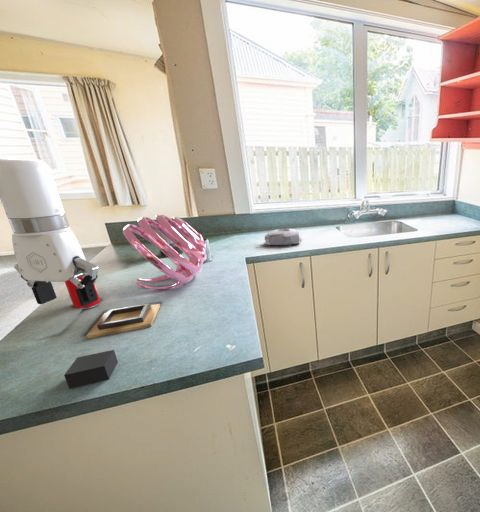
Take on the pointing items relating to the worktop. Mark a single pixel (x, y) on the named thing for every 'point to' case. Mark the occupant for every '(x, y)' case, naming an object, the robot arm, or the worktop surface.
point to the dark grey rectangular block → (91, 369)
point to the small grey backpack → (282, 237)
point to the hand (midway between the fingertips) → (68, 302)
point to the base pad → (125, 320)
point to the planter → (207, 250)
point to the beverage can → (74, 297)
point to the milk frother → (169, 243)
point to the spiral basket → (169, 248)
